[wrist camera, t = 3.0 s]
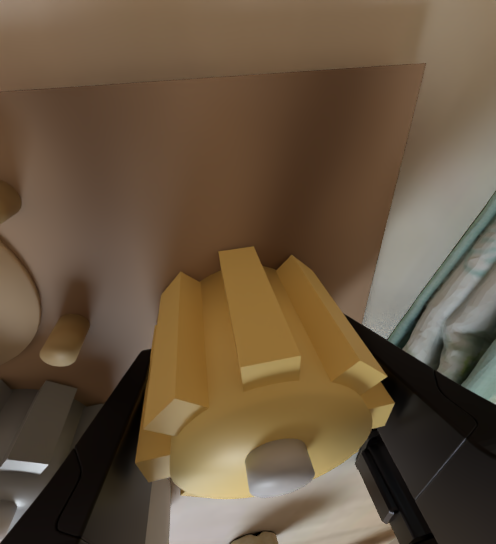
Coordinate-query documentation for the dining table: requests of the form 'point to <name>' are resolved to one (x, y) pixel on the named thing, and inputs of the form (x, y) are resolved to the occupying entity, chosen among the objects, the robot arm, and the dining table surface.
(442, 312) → the towel
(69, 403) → the gear
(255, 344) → the loose gear
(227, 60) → the dining table surface
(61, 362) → the board
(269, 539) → the flower pot
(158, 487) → the grey paw block
